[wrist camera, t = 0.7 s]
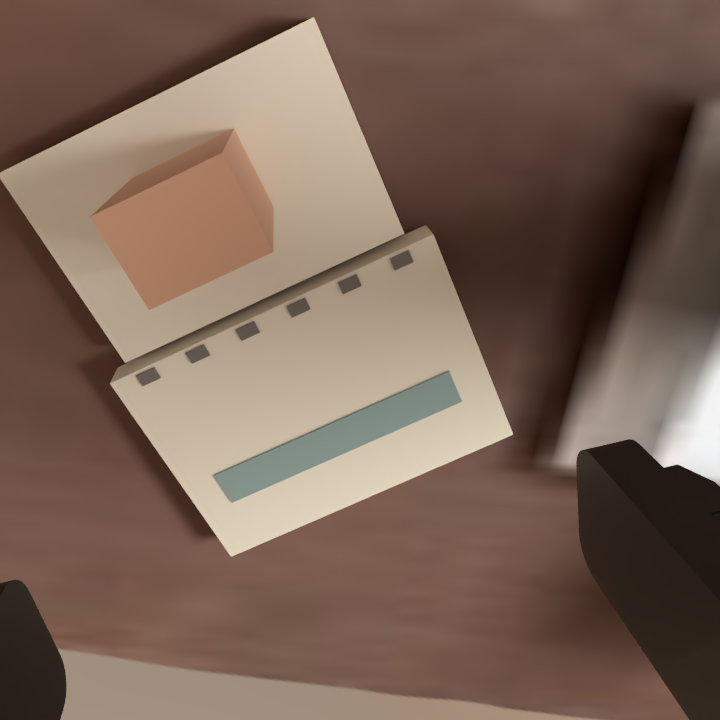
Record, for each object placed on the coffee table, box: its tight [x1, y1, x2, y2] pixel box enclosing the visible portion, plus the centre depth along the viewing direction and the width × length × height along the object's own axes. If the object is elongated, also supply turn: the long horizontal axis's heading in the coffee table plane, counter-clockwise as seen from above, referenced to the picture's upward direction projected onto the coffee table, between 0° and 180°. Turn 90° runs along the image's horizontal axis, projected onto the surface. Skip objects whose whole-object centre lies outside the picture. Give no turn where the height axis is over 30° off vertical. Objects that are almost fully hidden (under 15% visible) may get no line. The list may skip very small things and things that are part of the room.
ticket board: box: [110, 225, 513, 557], centre depth 29 cm, size 14×10×2 cm
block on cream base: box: [0, 17, 404, 363], centre depth 22 cm, size 12×8×7 cm, turn 114°
